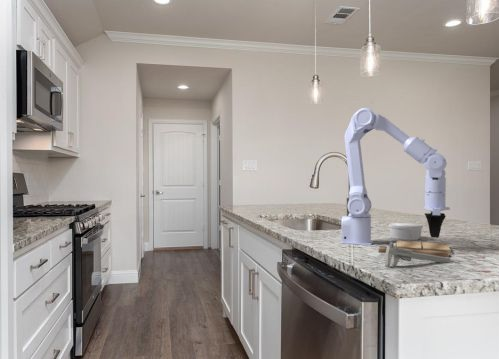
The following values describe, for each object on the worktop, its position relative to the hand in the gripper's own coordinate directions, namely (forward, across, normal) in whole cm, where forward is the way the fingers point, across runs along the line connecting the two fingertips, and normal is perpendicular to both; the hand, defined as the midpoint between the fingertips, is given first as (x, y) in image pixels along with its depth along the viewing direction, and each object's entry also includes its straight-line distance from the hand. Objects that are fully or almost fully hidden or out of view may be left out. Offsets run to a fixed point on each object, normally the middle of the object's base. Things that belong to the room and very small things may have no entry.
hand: (434, 236), depth 117 cm
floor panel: (+4, -12, +6) cm, 14 cm away
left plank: (+4, -3, +7) cm, 9 cm away
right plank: (+3, -3, 0) cm, 5 cm away
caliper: (+4, -25, +5) cm, 26 cm away
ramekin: (+4, +18, +8) cm, 20 cm away
